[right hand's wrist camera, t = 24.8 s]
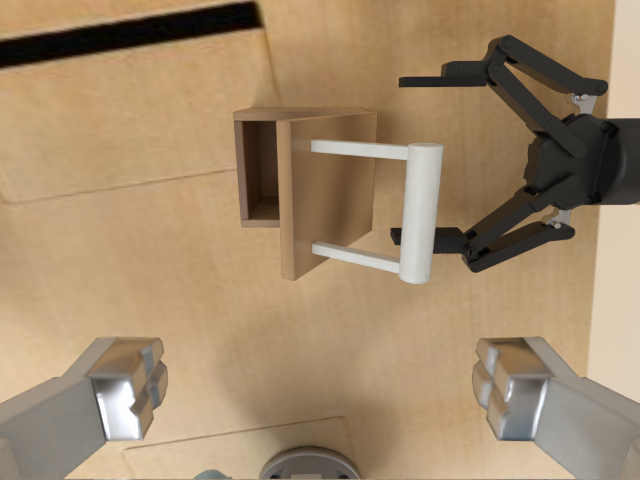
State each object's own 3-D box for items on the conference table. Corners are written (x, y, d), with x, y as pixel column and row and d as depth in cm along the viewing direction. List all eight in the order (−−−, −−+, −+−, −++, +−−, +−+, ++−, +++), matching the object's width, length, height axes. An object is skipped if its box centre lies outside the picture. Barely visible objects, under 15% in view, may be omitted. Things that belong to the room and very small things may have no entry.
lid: (281, 277, 26) (413, 315, 22) (275, 120, 23) (430, 127, 18) (361, 228, 36) (465, 247, 31) (366, 111, 32) (483, 115, 28)
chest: (256, 201, 44) (241, 227, 36) (251, 107, 41) (232, 111, 32) (357, 200, 45) (366, 227, 36) (360, 107, 41) (371, 111, 32)
